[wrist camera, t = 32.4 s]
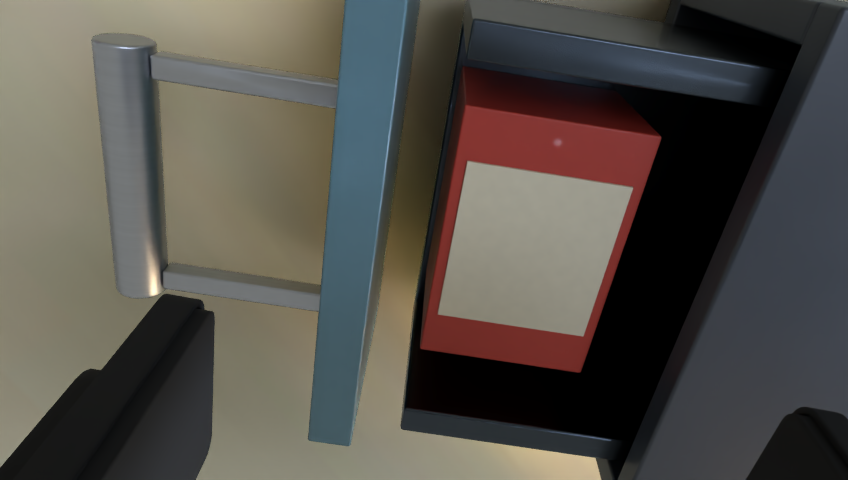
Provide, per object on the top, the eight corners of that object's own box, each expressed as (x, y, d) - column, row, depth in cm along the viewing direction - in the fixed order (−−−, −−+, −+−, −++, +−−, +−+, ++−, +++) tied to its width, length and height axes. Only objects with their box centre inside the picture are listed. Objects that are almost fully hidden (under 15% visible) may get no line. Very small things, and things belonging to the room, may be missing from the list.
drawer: (182, 281, 23) (85, 409, 17) (168, -89, 17) (11, -99, 11) (718, 362, 23) (810, 513, 17) (876, 30, 18) (1095, 83, 12)
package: (617, 90, 18) (664, 137, 14) (557, 291, 21) (581, 375, 17) (462, 65, 18) (464, 105, 14) (426, 270, 21) (419, 351, 17)
